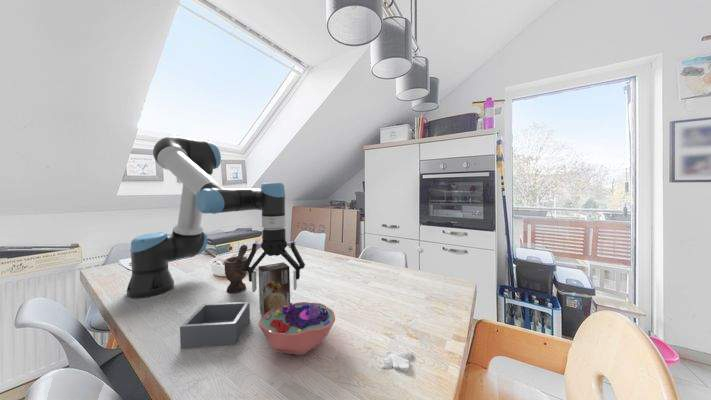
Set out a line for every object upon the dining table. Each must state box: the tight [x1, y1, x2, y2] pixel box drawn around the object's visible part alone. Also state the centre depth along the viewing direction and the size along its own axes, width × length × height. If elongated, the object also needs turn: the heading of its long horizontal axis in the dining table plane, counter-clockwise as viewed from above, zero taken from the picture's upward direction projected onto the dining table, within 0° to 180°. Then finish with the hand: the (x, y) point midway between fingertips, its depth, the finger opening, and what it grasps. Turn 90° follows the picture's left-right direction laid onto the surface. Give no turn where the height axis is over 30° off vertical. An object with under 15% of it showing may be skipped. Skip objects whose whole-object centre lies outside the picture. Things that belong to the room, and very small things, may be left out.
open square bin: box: [179, 301, 251, 350], centre depth 74 cm, size 14×13×6 cm
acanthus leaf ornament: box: [380, 350, 414, 373], centre depth 62 cm, size 8×7×2 cm
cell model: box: [258, 301, 336, 356], centre depth 68 cm, size 17×20×11 cm
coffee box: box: [257, 261, 291, 317], centre depth 86 cm, size 9×6×16 cm
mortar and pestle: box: [223, 244, 248, 294], centre depth 104 cm, size 12×9×20 cm
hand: (275, 289), depth 86 cm, fingers open, 13 cm apart
